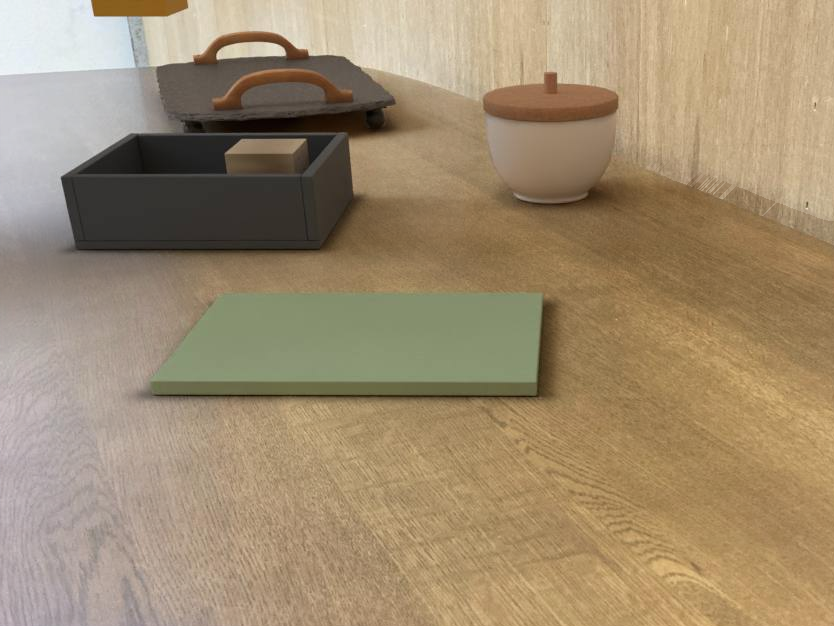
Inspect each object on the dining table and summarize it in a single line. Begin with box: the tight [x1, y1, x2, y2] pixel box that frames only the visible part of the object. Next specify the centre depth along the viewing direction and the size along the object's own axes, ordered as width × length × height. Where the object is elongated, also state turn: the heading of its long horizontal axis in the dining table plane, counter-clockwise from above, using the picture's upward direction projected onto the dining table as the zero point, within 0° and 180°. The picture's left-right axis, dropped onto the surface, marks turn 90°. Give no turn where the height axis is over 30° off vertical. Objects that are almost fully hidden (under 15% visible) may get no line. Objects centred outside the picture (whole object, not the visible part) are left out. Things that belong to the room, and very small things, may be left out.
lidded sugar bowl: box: [482, 71, 619, 204], centre depth 91 cm, size 11×11×9 cm
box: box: [60, 132, 355, 250], centre depth 86 cm, size 18×15×5 cm
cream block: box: [225, 139, 310, 175], centre depth 86 cm, size 5×5×5 cm
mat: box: [149, 291, 544, 397], centre depth 65 cm, size 20×14×1 cm
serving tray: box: [155, 30, 397, 133], centre depth 126 cm, size 39×23×6 cm, turn 18°
